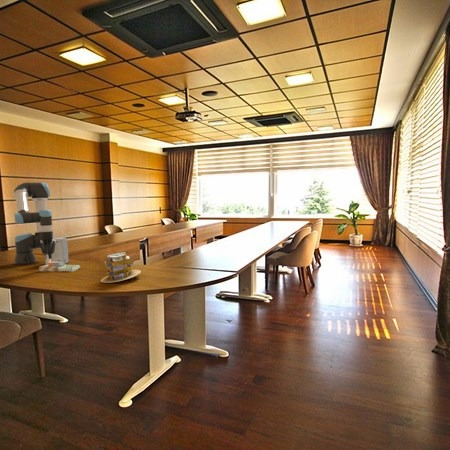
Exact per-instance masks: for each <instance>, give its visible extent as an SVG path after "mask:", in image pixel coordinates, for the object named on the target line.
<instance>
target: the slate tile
mask: <svg viewBox="0 0 450 450" xmlns="http://www.w3.org/2000/svg"><path fill="white" fill-rule="evenodd" d="M62 265H64V262H59V261H58V262H55V263H54V266H62Z"/></svg>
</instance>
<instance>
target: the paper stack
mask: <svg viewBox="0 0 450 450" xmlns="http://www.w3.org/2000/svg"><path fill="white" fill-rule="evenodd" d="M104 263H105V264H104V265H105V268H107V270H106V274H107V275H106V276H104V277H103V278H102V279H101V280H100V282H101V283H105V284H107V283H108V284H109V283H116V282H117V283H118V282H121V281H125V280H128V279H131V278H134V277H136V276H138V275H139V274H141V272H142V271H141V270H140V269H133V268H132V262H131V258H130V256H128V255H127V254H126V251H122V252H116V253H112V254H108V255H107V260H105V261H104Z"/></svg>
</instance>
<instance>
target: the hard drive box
mask: <svg viewBox="0 0 450 450" xmlns="http://www.w3.org/2000/svg"><path fill="white" fill-rule="evenodd" d="M53 240H55V241H57V242H56V244H55V250H54V253H53V254H52V259H51V262H52V261H59V262H64V264H67V263H69V262H70V261H69V249H68V238H66V237H53ZM43 255H44V265H46V264H47V259H46V257H45V254H43Z"/></svg>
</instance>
